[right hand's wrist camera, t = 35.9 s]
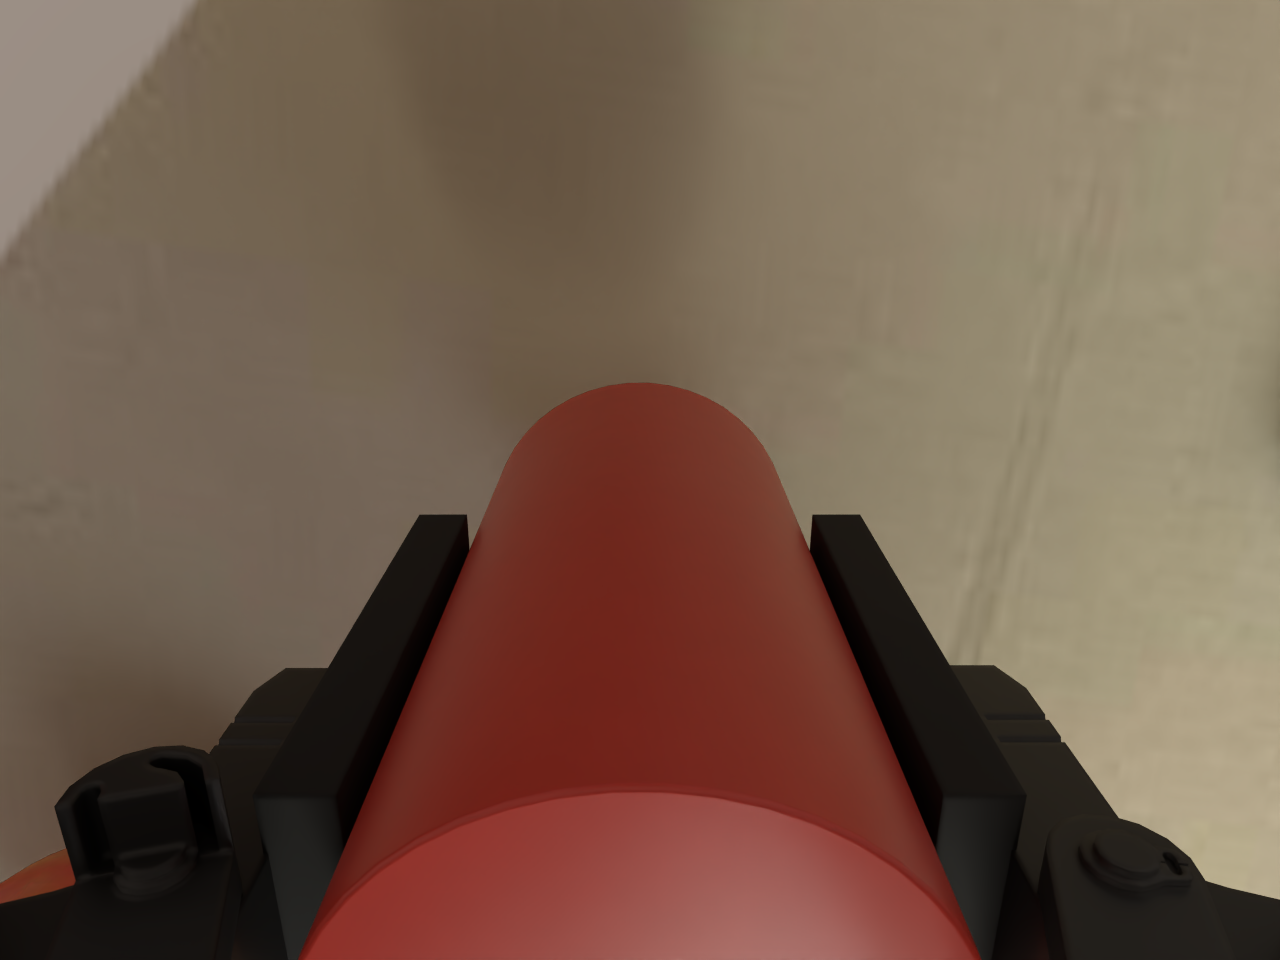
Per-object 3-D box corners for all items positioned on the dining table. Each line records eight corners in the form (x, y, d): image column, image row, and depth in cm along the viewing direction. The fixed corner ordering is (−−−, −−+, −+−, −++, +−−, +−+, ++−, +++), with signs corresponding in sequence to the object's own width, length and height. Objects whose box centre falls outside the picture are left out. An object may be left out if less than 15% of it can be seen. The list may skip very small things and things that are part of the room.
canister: (603, 693, 18) (559, 1367, 8) (435, 486, 17) (123, 1008, 7) (837, 557, 17) (1116, 1142, 7) (681, 322, 16) (757, 644, 6)
